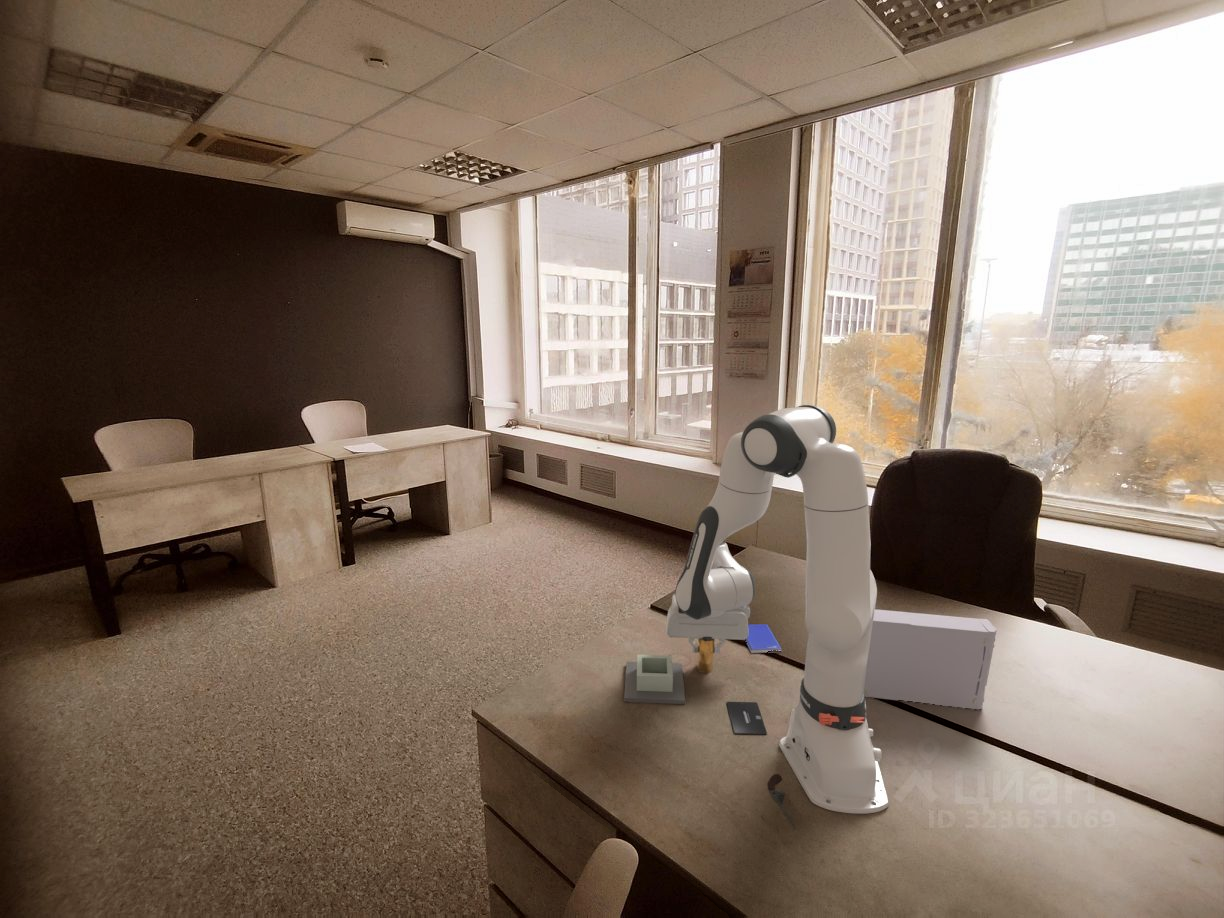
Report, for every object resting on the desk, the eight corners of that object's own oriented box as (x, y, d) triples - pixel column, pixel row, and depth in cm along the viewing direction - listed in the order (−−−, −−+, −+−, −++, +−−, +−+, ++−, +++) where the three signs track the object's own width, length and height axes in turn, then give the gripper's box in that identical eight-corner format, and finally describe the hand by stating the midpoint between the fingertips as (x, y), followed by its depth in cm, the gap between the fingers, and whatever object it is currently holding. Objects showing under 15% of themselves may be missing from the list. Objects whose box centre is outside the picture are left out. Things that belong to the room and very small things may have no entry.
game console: (985, 712, 122) (1000, 633, 118) (856, 696, 128) (865, 620, 123) (974, 695, 128) (988, 619, 123) (850, 681, 133) (859, 607, 128)
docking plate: (685, 704, 125) (685, 685, 124) (624, 701, 126) (624, 682, 125) (681, 667, 139) (682, 649, 138) (626, 665, 140) (626, 647, 139)
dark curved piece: (760, 778, 105) (761, 775, 105) (779, 775, 106) (779, 772, 106) (801, 846, 92) (801, 842, 92) (822, 841, 93) (822, 838, 93)
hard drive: (782, 648, 145) (767, 623, 157) (751, 649, 145) (739, 624, 157) (781, 653, 145) (767, 628, 157) (751, 654, 145) (738, 629, 157)
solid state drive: (756, 704, 126) (757, 702, 126) (767, 736, 116) (767, 734, 116) (726, 703, 126) (726, 701, 126) (734, 735, 116) (734, 733, 116)
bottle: (714, 673, 136) (716, 637, 134) (697, 672, 137) (698, 637, 134) (712, 663, 140) (714, 628, 138) (696, 662, 141) (697, 627, 138)
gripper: (748, 596, 137) (745, 645, 140) (666, 594, 138) (665, 643, 141) (753, 609, 130) (749, 660, 134) (667, 607, 132) (666, 657, 135)
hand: (705, 651), depth 137 cm, fingers closed on bottle, 4 cm apart
